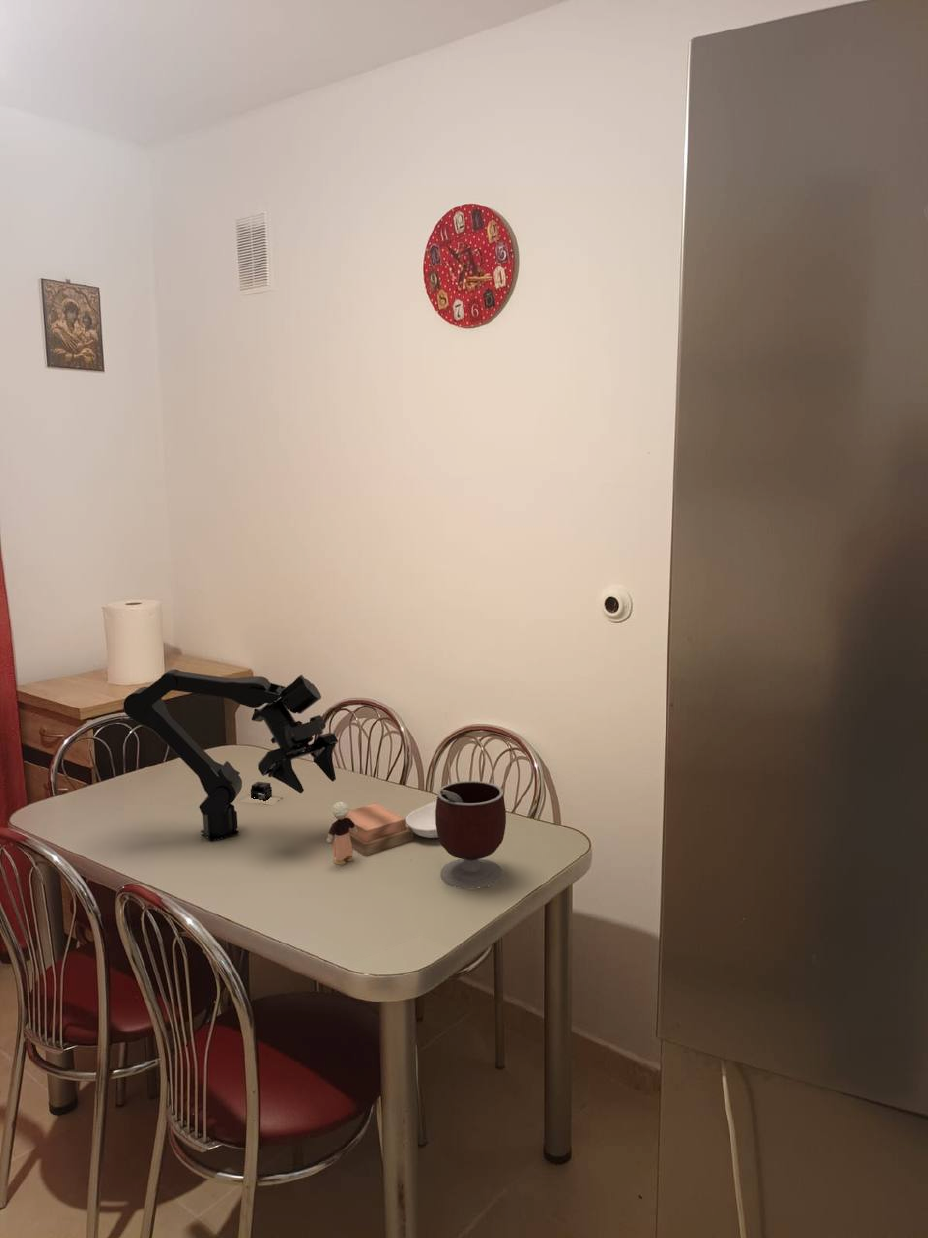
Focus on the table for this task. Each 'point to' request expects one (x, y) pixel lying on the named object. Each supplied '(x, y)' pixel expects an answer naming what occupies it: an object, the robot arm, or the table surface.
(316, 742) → the robot arm
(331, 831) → the grandmother figurine
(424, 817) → the spoon rest
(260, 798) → the black barn door light
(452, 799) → the mate gourd
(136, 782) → the table surface
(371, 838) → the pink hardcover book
